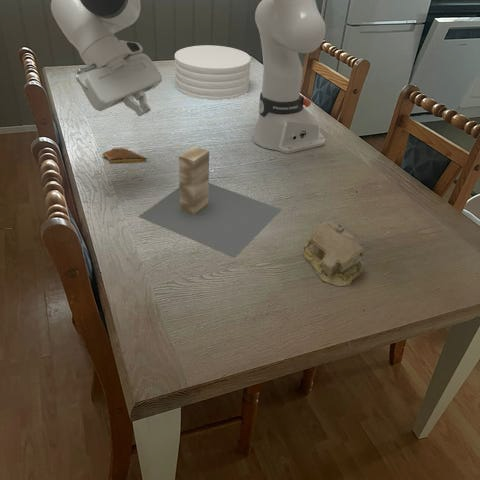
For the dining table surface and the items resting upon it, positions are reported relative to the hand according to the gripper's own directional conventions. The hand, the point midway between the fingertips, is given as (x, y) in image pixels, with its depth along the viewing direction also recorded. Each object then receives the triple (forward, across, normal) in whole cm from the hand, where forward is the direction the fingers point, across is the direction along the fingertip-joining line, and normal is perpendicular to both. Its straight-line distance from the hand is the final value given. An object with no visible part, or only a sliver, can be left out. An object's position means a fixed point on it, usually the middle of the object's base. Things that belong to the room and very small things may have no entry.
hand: (145, 113), depth 104 cm
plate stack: (-6, +72, +35) cm, 81 cm away
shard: (+3, +10, +27) cm, 29 cm away
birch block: (+24, 0, +5) cm, 24 cm away
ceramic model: (+49, 0, -20) cm, 53 cm away
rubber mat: (+27, 0, +2) cm, 27 cm away
